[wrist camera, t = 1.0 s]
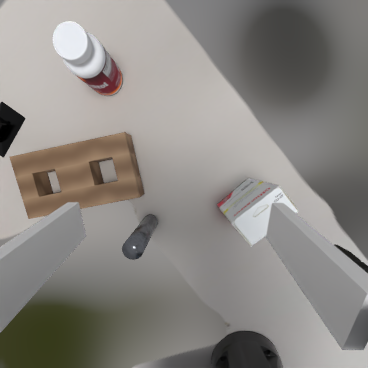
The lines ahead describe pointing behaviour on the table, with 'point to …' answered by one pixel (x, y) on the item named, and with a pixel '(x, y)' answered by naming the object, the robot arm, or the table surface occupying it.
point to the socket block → (77, 174)
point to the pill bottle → (87, 58)
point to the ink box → (253, 208)
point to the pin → (140, 238)
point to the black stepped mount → (8, 127)
